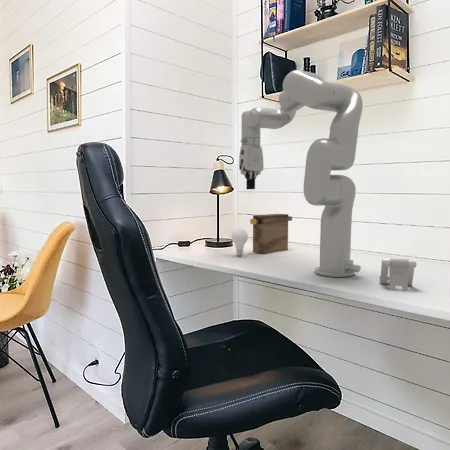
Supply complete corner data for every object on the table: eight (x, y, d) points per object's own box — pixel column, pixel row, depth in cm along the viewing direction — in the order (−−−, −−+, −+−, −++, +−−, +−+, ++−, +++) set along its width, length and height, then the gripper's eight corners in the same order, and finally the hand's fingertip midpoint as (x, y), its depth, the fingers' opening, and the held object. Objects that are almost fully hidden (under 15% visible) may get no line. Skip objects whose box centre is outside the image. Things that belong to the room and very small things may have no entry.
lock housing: (287, 249, 187) (288, 214, 186) (263, 254, 176) (263, 216, 175) (277, 248, 192) (277, 213, 190) (252, 252, 181) (253, 215, 179)
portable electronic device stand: (411, 285, 123) (412, 256, 122) (415, 291, 116) (417, 261, 115) (379, 283, 125) (380, 255, 125) (382, 289, 118) (383, 259, 117)
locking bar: (292, 220, 191) (292, 216, 191) (254, 224, 174) (254, 219, 174) (287, 220, 193) (287, 216, 192) (250, 223, 176) (250, 219, 176)
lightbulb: (228, 255, 172) (228, 228, 170) (240, 254, 175) (240, 227, 174) (238, 258, 166) (238, 230, 165) (250, 256, 170) (251, 228, 169)
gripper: (244, 140, 163) (244, 189, 164) (270, 143, 173) (270, 189, 175) (230, 142, 168) (230, 189, 170) (256, 144, 178) (256, 189, 180)
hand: (250, 189), depth 172 cm, fingers closed
